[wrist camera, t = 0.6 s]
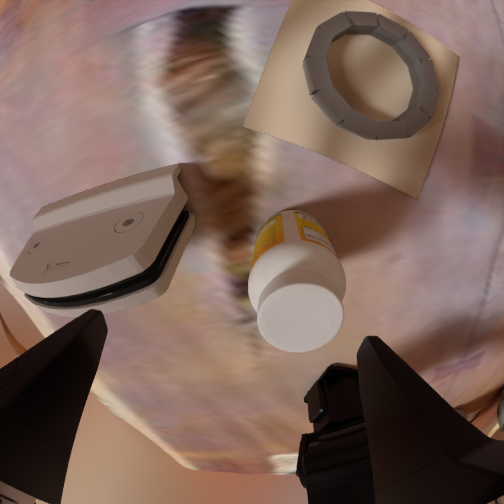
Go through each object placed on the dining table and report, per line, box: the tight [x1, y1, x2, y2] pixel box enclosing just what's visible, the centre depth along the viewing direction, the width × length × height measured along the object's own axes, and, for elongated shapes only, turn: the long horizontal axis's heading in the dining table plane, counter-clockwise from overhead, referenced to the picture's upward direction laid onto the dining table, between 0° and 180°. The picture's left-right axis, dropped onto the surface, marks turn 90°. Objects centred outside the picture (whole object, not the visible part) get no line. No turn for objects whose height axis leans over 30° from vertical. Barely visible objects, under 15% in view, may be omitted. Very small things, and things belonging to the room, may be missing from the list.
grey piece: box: [10, 163, 195, 317], centre depth 18 cm, size 17×5×10 cm, turn 100°
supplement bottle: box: [248, 210, 346, 352], centre depth 16 cm, size 5×5×10 cm
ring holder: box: [243, 0, 458, 200], centre depth 14 cm, size 14×14×2 cm
